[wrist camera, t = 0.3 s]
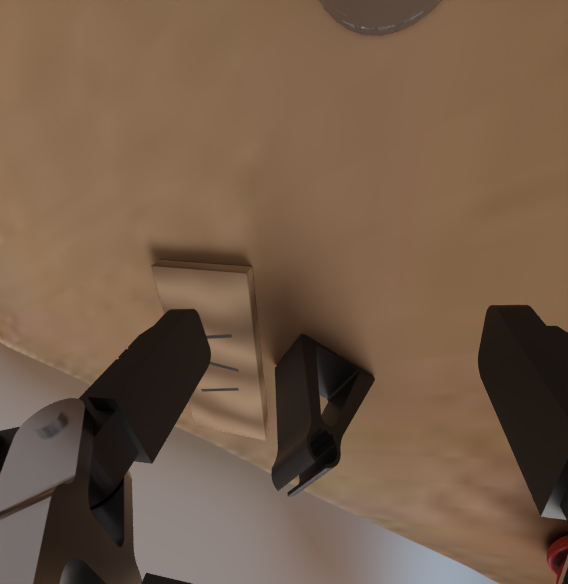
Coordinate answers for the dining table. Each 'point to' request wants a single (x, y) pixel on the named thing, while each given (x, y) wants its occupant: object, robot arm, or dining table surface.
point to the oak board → (222, 342)
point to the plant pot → (558, 556)
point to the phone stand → (313, 410)
